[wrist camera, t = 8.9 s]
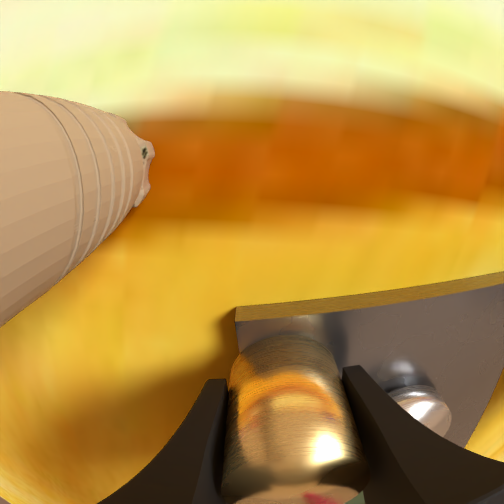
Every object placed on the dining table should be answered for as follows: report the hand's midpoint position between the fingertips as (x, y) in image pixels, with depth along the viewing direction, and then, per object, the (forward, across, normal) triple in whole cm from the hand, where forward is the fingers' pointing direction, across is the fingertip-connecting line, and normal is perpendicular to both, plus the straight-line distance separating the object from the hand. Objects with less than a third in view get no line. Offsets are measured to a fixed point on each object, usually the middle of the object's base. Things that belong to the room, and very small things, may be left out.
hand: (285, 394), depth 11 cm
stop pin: (+1, 0, 0) cm, 1 cm away
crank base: (+2, -5, +4) cm, 7 cm away
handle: (+2, +5, -8) cm, 10 cm away
